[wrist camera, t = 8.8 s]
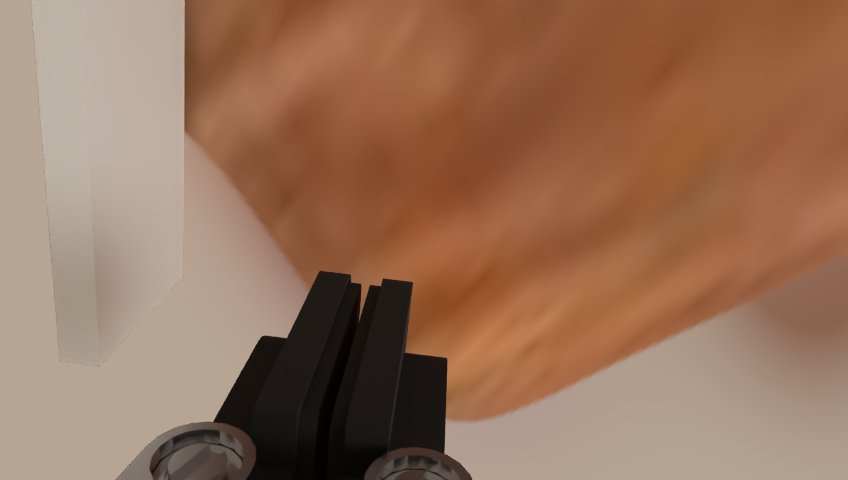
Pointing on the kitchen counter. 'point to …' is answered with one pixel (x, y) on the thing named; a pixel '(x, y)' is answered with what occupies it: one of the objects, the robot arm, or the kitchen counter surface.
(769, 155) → the kitchen counter surface
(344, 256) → the kitchen counter surface
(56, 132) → the side door
